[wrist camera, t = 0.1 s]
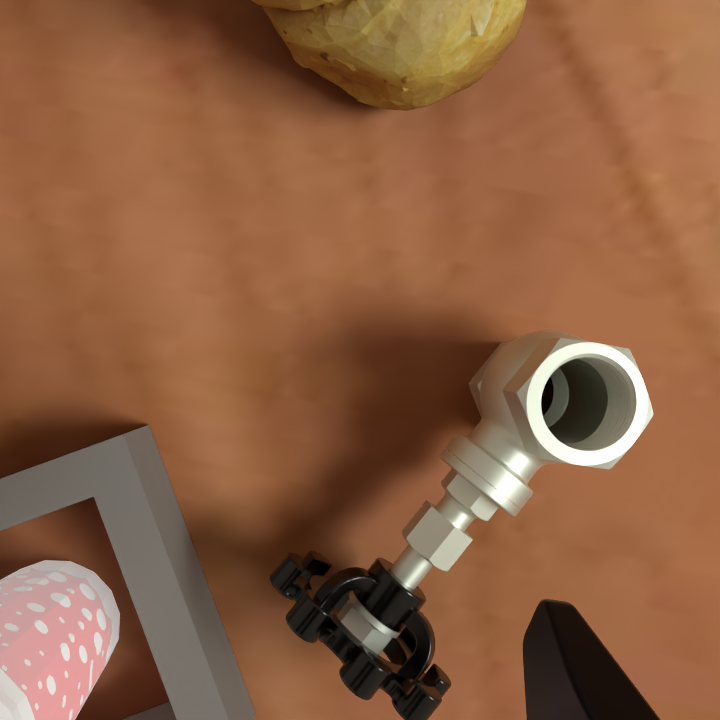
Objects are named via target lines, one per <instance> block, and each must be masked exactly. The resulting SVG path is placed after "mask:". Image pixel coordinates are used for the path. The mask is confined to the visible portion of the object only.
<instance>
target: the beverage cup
mask: <svg viewBox="0 0 720 720" xmlns="http://www.w3.org/2000/svg"><path fill="white" fill-rule="evenodd" d="M119 624H120V613H119V610H118V607H117V604H116V602H115V599H114V596H113V593H112V591H111V589H110V588H109V587H108V586H107V585H106V584H105V583H104V582H103V581H102V580H101V579H100V578H99V576H98V575H97V574H96V573H95V572H93V571H91V570H89V569H87V568H85V567H82V566H80V565H78V564H76V563H74V562H71V561H53V560H44V561H41V562H38V563H36V564H33V565H30V566H27V567H24V568H22V569H19V570H18V571H16V572H14V573H12V574H10V575H8V576H7V577H5V578H3V579H1V580H0V720H75V719H76V717H77V715H78V714H79V712H80V710H81V708H82V707H83V705H84V703H85V701H86V700H87V698H88V696H89V694H90V692H91V691H92V689H93V687H94V685H95V684H96V682H97V680H98V678H99V677H100V675H101V673H102V671H103V670H104V668H105V666H106V664H107V663H108V660H109V658H110V656H111V654H112V652H113V650H114V648H115V646H116V644H117V642H118V640H119Z"/></svg>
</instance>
